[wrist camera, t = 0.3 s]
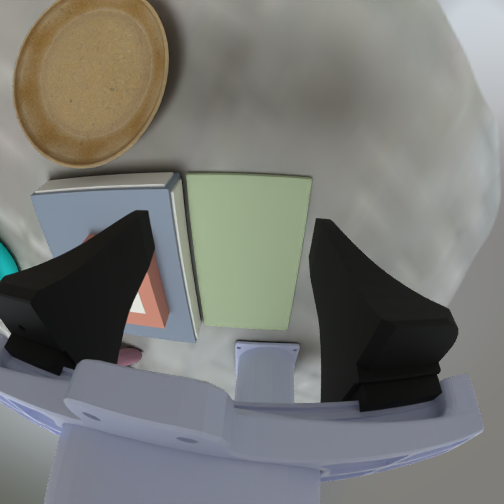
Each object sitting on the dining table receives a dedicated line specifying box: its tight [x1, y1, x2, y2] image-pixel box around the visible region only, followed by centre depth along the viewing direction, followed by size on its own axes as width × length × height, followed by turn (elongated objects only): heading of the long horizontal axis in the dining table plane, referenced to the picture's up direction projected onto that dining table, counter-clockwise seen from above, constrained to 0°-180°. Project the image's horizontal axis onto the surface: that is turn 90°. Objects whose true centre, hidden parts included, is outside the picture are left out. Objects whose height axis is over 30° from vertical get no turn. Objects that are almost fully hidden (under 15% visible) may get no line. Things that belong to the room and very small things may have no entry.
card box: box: [83, 234, 170, 328], centre depth 23 cm, size 9×6×2 cm, turn 179°
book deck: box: [31, 172, 201, 343], centre depth 25 cm, size 18×14×3 cm
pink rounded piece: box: [117, 348, 142, 367], centre depth 38 cm, size 10×5×7 cm, turn 161°
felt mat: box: [186, 173, 312, 330], centre depth 26 cm, size 18×9×1 cm, turn 179°
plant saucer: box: [12, 0, 169, 169], centre depth 15 cm, size 15×15×3 cm
